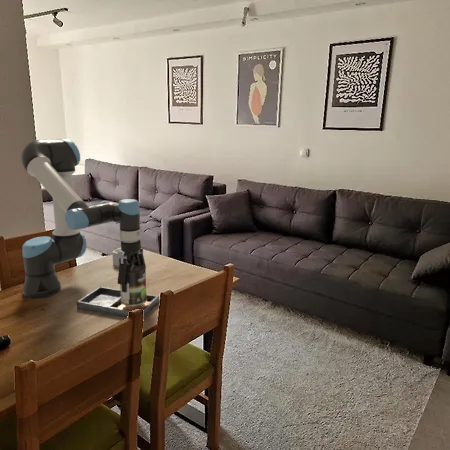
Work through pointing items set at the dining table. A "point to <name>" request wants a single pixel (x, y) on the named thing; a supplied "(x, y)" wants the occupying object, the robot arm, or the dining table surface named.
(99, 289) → the grey divided tray
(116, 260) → the lumpy-topped squat cylinder
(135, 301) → the coffee can
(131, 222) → the robot arm
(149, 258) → the dining table surface
